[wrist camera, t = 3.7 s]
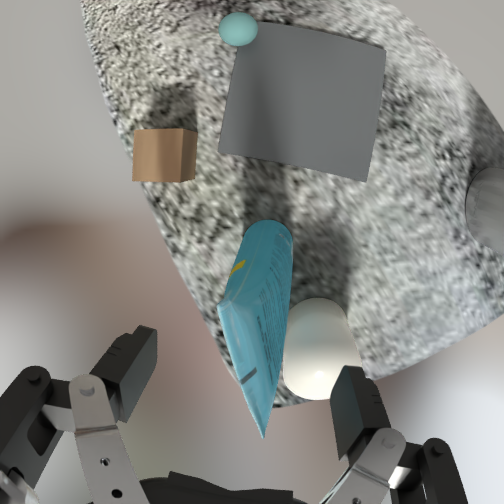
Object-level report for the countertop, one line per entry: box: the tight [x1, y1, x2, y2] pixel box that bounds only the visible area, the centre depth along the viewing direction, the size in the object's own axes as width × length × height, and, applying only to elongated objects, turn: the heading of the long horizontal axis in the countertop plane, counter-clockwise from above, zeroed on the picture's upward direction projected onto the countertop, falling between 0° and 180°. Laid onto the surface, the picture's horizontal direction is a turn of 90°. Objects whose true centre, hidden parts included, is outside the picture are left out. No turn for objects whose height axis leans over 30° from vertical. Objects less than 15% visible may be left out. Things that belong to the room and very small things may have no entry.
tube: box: [217, 220, 293, 439], centre depth 20 cm, size 7×5×19 cm, turn 18°
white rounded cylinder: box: [283, 298, 362, 400], centre depth 27 cm, size 7×7×8 cm
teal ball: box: [219, 12, 258, 46], centre depth 20 cm, size 4×4×4 cm
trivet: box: [218, 21, 386, 182], centre depth 24 cm, size 14×14×1 cm
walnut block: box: [132, 129, 198, 183], centre depth 25 cm, size 4×4×4 cm
